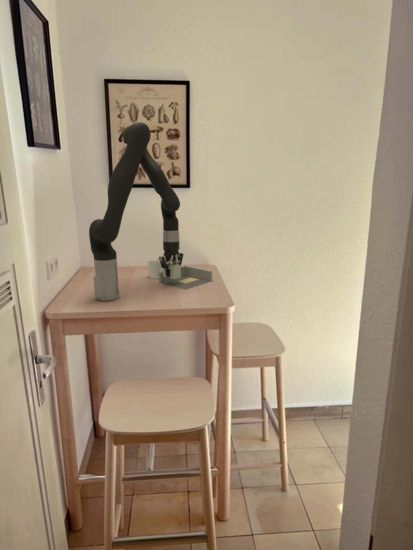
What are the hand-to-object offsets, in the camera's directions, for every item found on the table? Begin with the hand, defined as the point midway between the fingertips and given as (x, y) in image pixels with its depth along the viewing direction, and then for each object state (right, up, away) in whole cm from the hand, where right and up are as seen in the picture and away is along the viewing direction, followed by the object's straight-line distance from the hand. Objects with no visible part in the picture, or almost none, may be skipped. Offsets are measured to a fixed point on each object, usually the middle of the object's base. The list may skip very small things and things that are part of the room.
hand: (171, 275), depth 178 cm
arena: (+6, -4, +4) cm, 8 cm away
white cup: (-9, -2, +14) cm, 16 cm away
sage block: (0, -1, 0) cm, 1 cm away
